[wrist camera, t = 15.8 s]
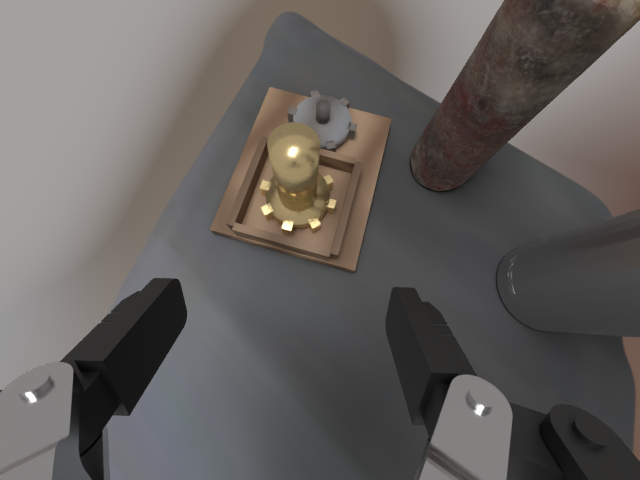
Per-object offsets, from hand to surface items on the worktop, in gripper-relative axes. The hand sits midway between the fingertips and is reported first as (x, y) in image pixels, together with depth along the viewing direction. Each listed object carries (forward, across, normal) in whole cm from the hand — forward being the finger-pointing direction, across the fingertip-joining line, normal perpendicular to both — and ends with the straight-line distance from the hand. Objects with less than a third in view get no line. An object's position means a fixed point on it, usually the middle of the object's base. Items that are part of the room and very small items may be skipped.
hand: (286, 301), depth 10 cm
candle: (+26, -16, -1) cm, 30 cm away
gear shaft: (+20, +1, +3) cm, 21 cm away
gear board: (+24, 0, +1) cm, 24 cm away
